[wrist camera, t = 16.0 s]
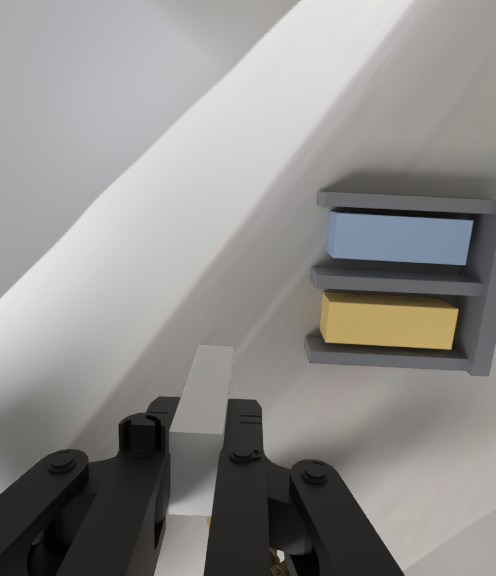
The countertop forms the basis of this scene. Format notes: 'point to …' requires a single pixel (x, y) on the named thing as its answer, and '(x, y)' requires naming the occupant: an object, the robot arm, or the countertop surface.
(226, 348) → the robot arm
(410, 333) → the bar ochre
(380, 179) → the countertop surface
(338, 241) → the bar blue
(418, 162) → the countertop surface
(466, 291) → the comb rack
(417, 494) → the countertop surface
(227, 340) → the countertop surface
